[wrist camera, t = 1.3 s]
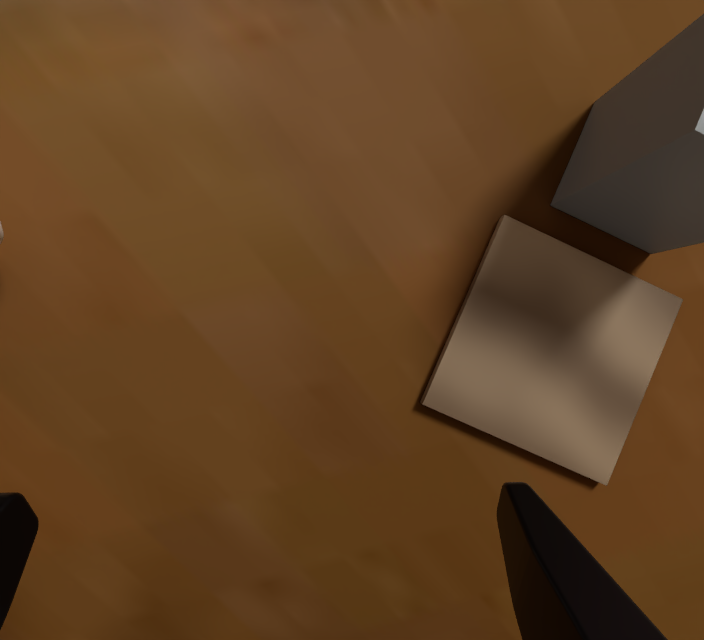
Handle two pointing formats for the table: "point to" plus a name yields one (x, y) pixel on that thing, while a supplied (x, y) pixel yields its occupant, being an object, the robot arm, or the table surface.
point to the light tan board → (552, 350)
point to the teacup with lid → (1, 234)
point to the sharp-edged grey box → (645, 152)
